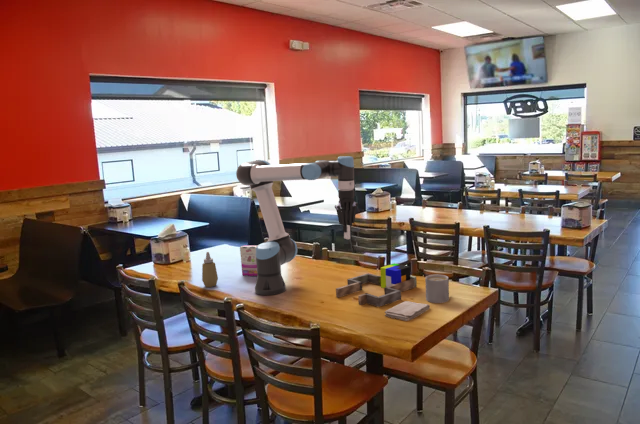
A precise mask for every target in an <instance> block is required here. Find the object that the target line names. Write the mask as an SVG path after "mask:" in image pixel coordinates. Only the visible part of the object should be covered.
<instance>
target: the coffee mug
mask: <svg viewBox="0 0 640 424" xmlns="http://www.w3.org/2000/svg"><path fill="white" fill-rule="evenodd" d="M424 280H425V301H426V302H429V303H432V304H443V303H446V302H449V301H450V291H449V289H450V287H449V276H447V275H445V274H439V273H438V274H437V273H436V274H429V275H426V276H425V279H424Z"/></svg>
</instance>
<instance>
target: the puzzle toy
mask: <svg viewBox="0 0 640 424" xmlns="http://www.w3.org/2000/svg"><path fill="white" fill-rule="evenodd" d="M379 268H380V276H381V285H380V287H381V289H384V287H388V286H391V285H394V284H397V283H400V282H404V281H407V280H410V275H411V266H408V265H403V264H398V263H395V262H394V263H392V264H387V265H385V266H382V267H379Z"/></svg>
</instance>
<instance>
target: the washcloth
mask: <svg viewBox="0 0 640 424" xmlns="http://www.w3.org/2000/svg"><path fill="white" fill-rule="evenodd" d="M428 310H430V304H426V303H422V302H419V303H417V302H414V301H413V302H412V301H409V300H405V301H403V302H401V303H398V304H397V305H394V306H393V307H390V308H389V309H386V310H385V311H384V313H385V314H384V316H385V317H387V318H390V317H391V318H390V319H395V318H396V319H395V320H399V319H400V321H404V322H408V321H411V320H413V319H415V318H417V317H419V316H420V315H421V314H423V313H425V312H428Z"/></svg>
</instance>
